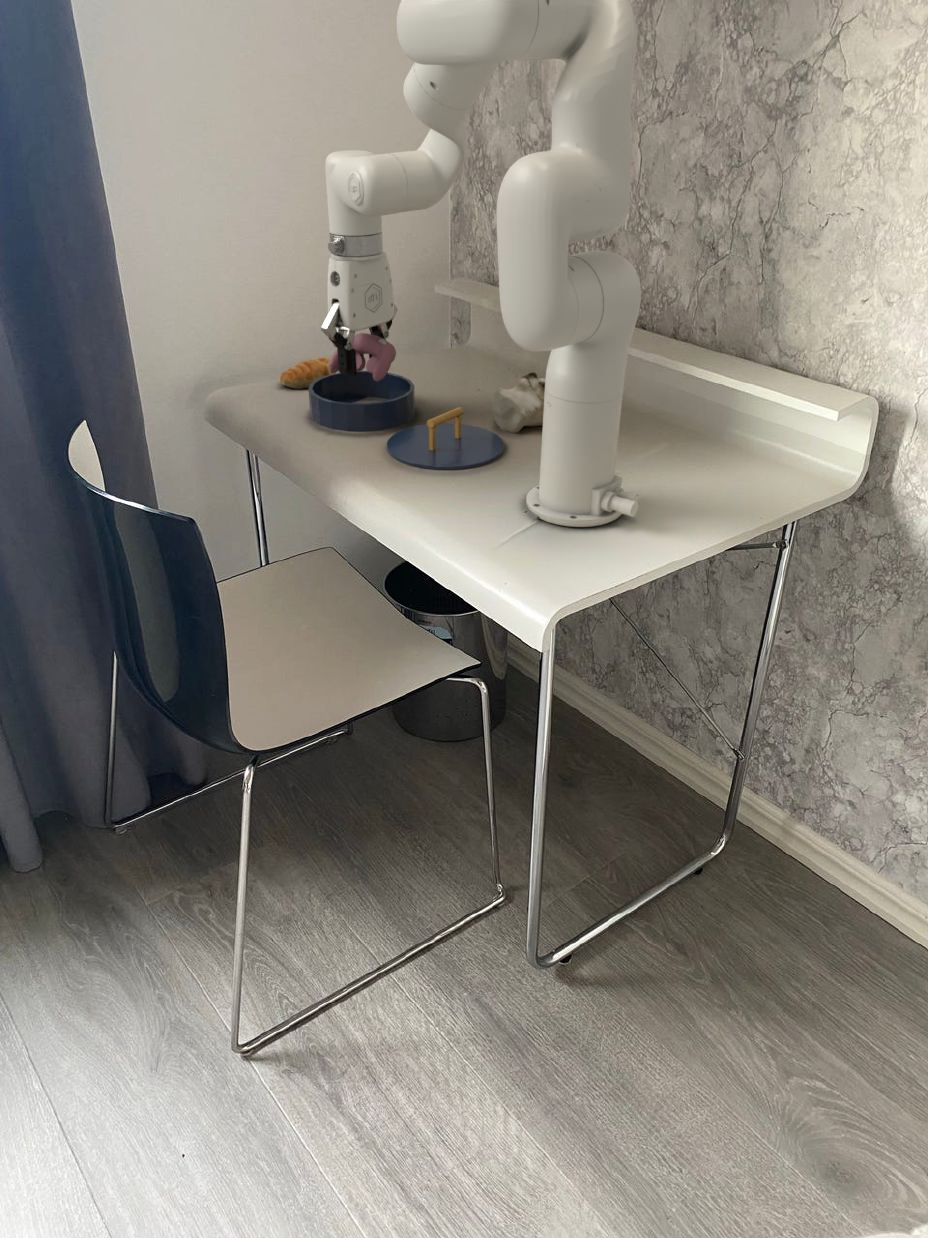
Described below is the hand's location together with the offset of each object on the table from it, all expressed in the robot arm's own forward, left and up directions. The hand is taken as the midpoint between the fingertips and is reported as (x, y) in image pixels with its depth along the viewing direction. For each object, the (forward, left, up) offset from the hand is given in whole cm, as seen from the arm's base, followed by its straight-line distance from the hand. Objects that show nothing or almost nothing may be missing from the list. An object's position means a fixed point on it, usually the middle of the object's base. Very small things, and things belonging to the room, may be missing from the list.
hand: (363, 367), depth 153 cm
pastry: (+19, -7, -8) cm, 21 cm away
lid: (-18, +3, -7) cm, 20 cm away
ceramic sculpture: (-22, -14, -8) cm, 27 cm away
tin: (+1, 0, -8) cm, 8 cm away
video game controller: (0, 0, -1) cm, 1 cm away
